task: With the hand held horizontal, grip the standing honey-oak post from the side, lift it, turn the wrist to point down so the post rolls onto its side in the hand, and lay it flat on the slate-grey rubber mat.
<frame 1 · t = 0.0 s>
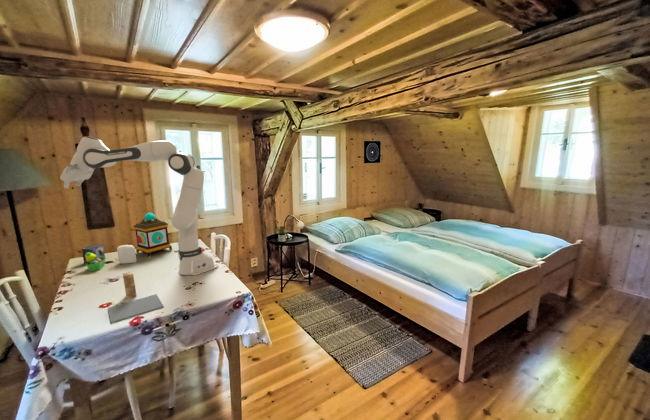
hand: (71, 186, 158), 54 cm above the table, tool tilted 30°, fingers open, 8 cm apart
slate mat: (136, 308, 135), on the table
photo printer: (128, 262, 195), on the table
small box: (95, 261, 199), on the table
oak post: (131, 295, 147), on the table
fruit basket: (96, 268, 186), on the table
decorative lantern: (154, 252, 216), on the table
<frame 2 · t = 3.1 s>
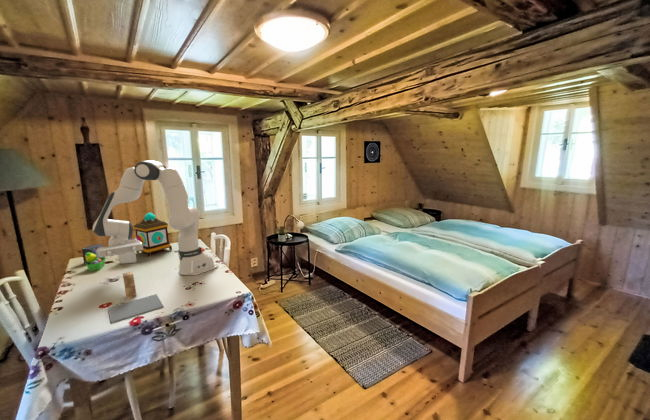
hand: (122, 252, 153), 20 cm above the table, tool horizontal, fingers open, 8 cm apart
nothing on the table moved.
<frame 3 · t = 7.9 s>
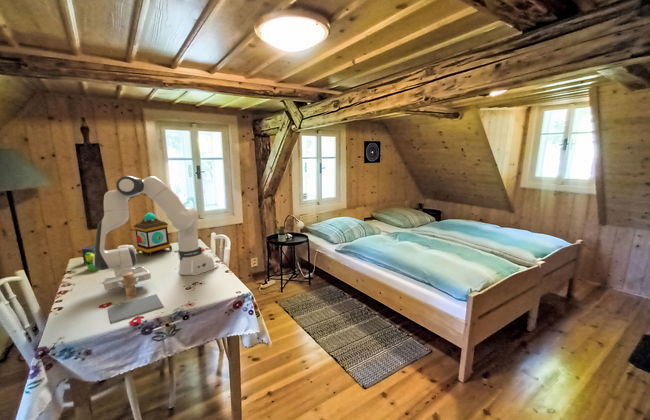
hand: (129, 284, 145), 7 cm above the table, tool horizontal, fingers closed on oak post, 4 cm apart
oak post: (131, 295, 147), on the table, touching gripper
everything else where it was.
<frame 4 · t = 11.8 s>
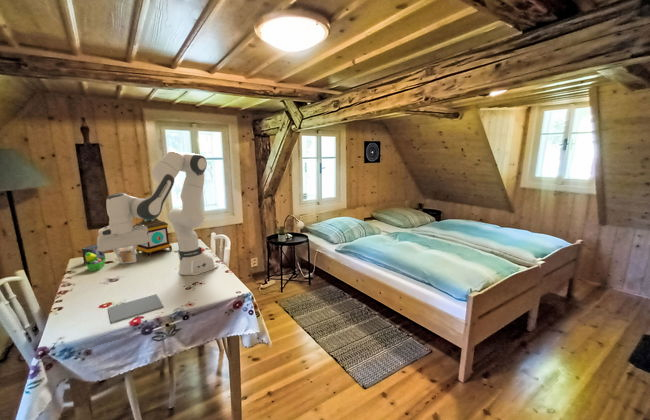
hand: (126, 255, 138), 23 cm above the table, tool pointing down, fingers closed on oak post, 4 cm apart
oak post: (127, 257, 133), point 24 cm above the table, tilted 90°, touching gripper
everything else where it was.
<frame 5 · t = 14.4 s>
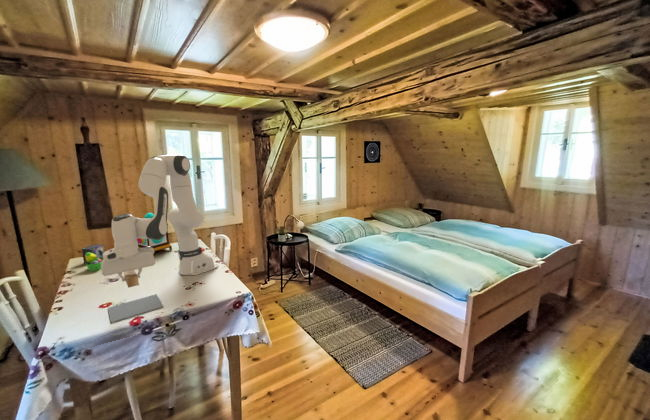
hand: (131, 279, 132), 14 cm above the table, tool pointing down, fingers closed on oak post, 4 cm apart
oak post: (133, 282, 127), point 15 cm above the table, tilted 90°, touching gripper
everything else where it was.
when the fingers open (3 cm above the table, at t = 16.6 s): oak post drops 2 cm, resting on slate mat.
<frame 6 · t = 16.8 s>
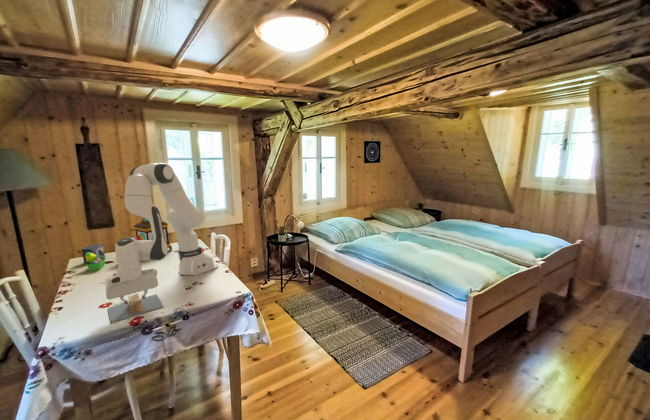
hand: (135, 301, 135), 3 cm above the table, tool pointing down, fingers open, 6 cm apart
oak post: (137, 308, 130), point 3 cm above the table, tilted 90°, touching slate mat
everything else where it was.
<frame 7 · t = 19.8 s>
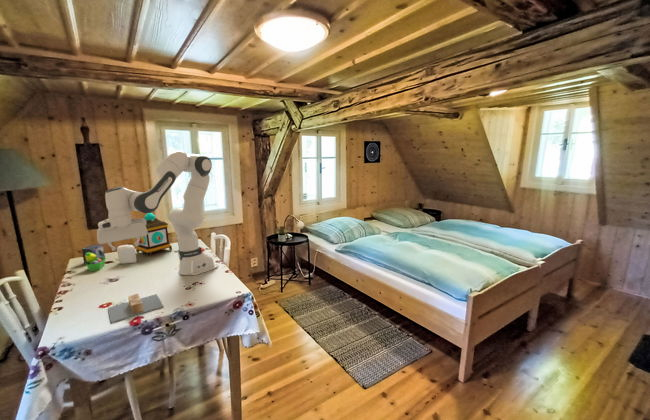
hand: (125, 248, 142), 26 cm above the table, tool pointing down, fingers open, 8 cm apart
nothing on the table moved.
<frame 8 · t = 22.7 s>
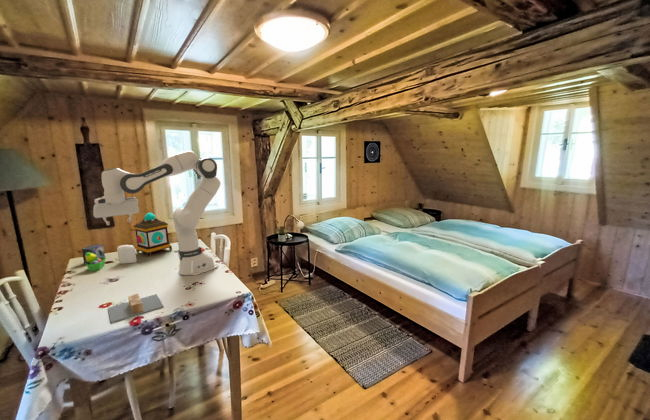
hand: (118, 223, 158), 34 cm above the table, tool pointing down, fingers open, 8 cm apart
nothing on the table moved.
at the end: oak post inside the target area on the slate mat (6.6 cm from its centre), point 2.6 cm above the slate mat's base; oak post tilted 90°; the gripper is holding nothing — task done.
